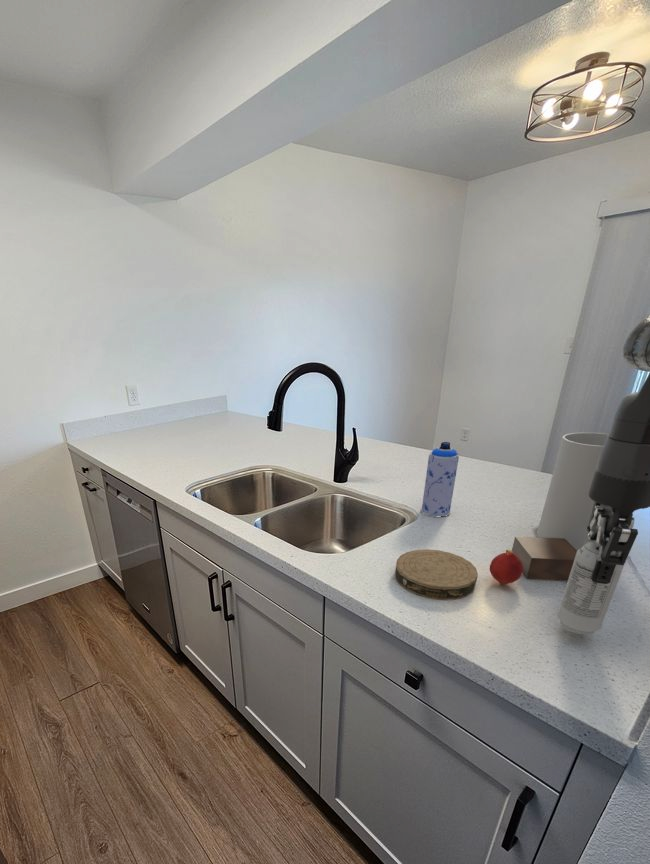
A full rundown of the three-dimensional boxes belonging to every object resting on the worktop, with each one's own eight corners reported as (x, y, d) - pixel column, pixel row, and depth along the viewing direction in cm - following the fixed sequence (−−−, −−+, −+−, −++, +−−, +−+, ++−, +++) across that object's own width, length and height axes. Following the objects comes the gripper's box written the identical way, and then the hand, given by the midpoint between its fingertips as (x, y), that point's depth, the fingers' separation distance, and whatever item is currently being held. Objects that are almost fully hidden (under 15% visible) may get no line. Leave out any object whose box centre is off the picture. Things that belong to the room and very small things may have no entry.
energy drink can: (606, 627, 73) (636, 548, 66) (588, 641, 70) (617, 560, 63) (566, 610, 77) (590, 535, 71) (548, 623, 75) (572, 545, 68)
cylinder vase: (583, 560, 96) (619, 450, 85) (525, 541, 106) (551, 439, 95) (608, 544, 102) (646, 439, 91) (551, 527, 112) (579, 429, 100)
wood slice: (430, 554, 103) (432, 543, 101) (492, 585, 90) (495, 572, 88) (379, 573, 96) (380, 561, 95) (437, 608, 84) (439, 596, 82)
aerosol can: (432, 504, 129) (441, 437, 120) (456, 512, 123) (468, 442, 114) (414, 511, 126) (423, 442, 117) (439, 519, 120) (450, 448, 111)
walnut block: (558, 558, 98) (564, 538, 96) (579, 581, 89) (587, 560, 87) (510, 556, 100) (514, 536, 98) (526, 578, 91) (531, 558, 89)
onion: (505, 574, 93) (513, 541, 89) (525, 589, 88) (535, 554, 84) (480, 578, 92) (487, 545, 89) (499, 593, 87) (507, 558, 84)
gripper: (682, 489, 54) (637, 600, 62) (648, 457, 66) (614, 555, 73) (607, 483, 57) (573, 590, 65) (587, 454, 69) (560, 548, 76)
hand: (595, 571), depth 69 cm, fingers closed on energy drink can, 6 cm apart
